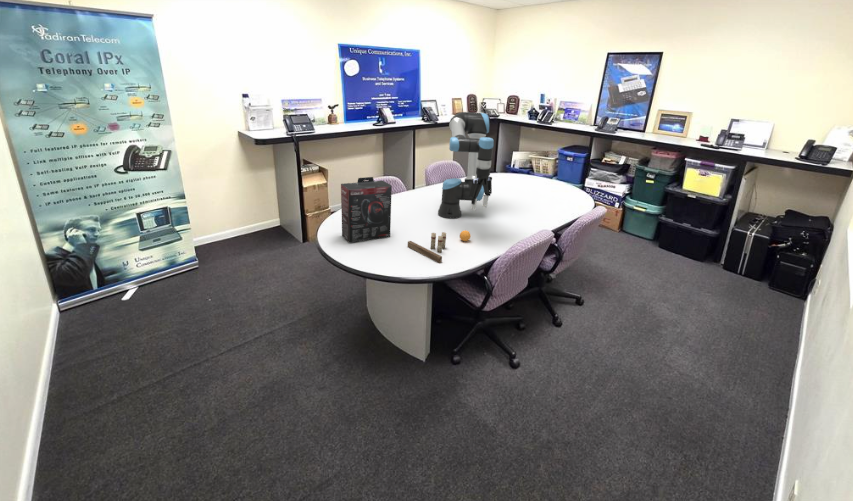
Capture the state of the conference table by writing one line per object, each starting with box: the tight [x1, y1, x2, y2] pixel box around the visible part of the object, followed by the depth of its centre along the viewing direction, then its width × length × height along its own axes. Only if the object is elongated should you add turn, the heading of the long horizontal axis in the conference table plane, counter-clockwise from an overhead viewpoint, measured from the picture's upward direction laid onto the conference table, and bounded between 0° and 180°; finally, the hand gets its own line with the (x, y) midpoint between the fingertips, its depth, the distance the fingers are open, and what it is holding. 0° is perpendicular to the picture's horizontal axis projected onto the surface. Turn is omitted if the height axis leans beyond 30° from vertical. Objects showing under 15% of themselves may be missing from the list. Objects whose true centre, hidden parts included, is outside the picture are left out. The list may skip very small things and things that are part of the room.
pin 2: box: [436, 235, 443, 254], centre depth 213 cm, size 2×2×8 cm
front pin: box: [440, 231, 447, 250], centre depth 218 cm, size 2×2×8 cm
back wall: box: [407, 240, 443, 264], centre depth 211 cm, size 2×24×3 cm, turn 42°
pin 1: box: [430, 232, 437, 250], centre depth 216 cm, size 2×2×8 cm
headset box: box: [340, 176, 393, 244], centre depth 222 cm, size 25×12×33 cm, turn 120°
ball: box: [459, 229, 472, 242], centre depth 229 cm, size 6×6×6 cm
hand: (479, 208), depth 229 cm, fingers open, 9 cm apart
